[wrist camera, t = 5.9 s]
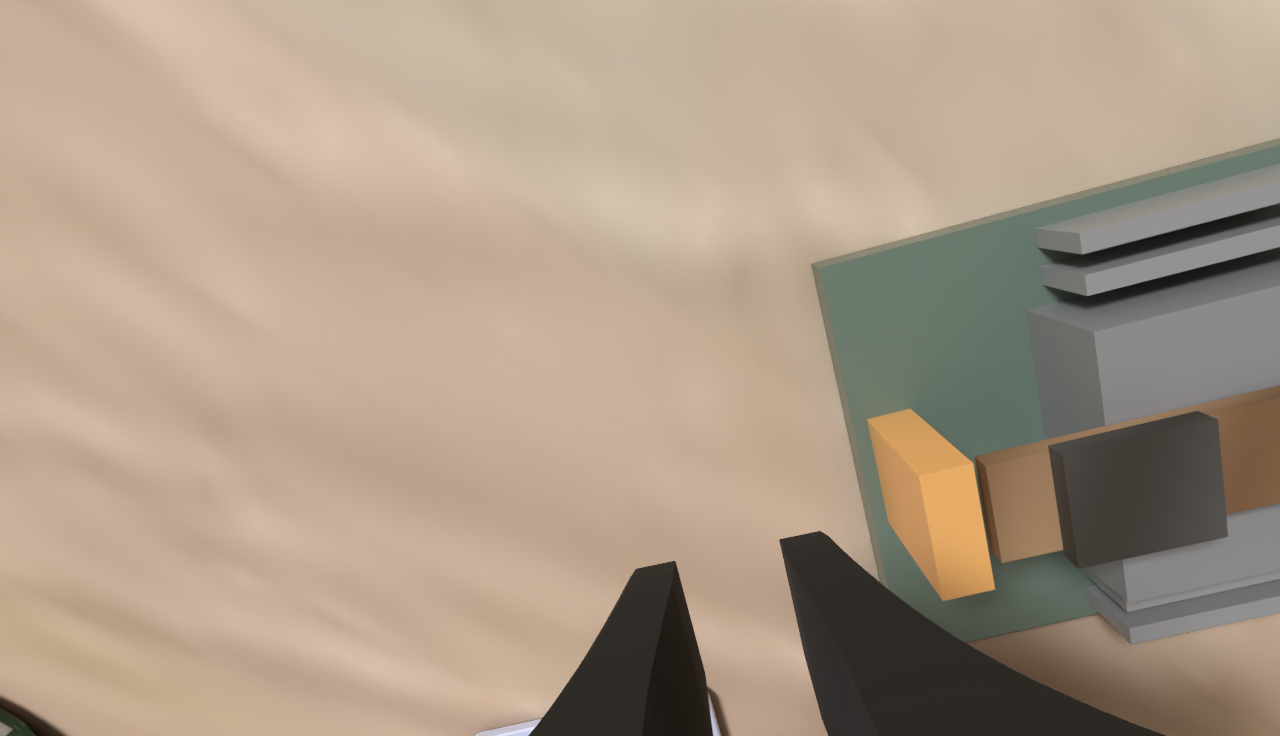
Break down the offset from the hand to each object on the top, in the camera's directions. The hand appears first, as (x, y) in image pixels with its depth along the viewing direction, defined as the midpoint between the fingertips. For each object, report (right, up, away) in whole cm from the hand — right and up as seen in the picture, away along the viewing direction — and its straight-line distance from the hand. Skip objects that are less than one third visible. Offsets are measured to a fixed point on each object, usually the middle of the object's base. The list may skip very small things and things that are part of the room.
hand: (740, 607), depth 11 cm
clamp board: (+13, +3, +10) cm, 16 cm away
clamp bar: (+13, +2, +6) cm, 14 cm away
